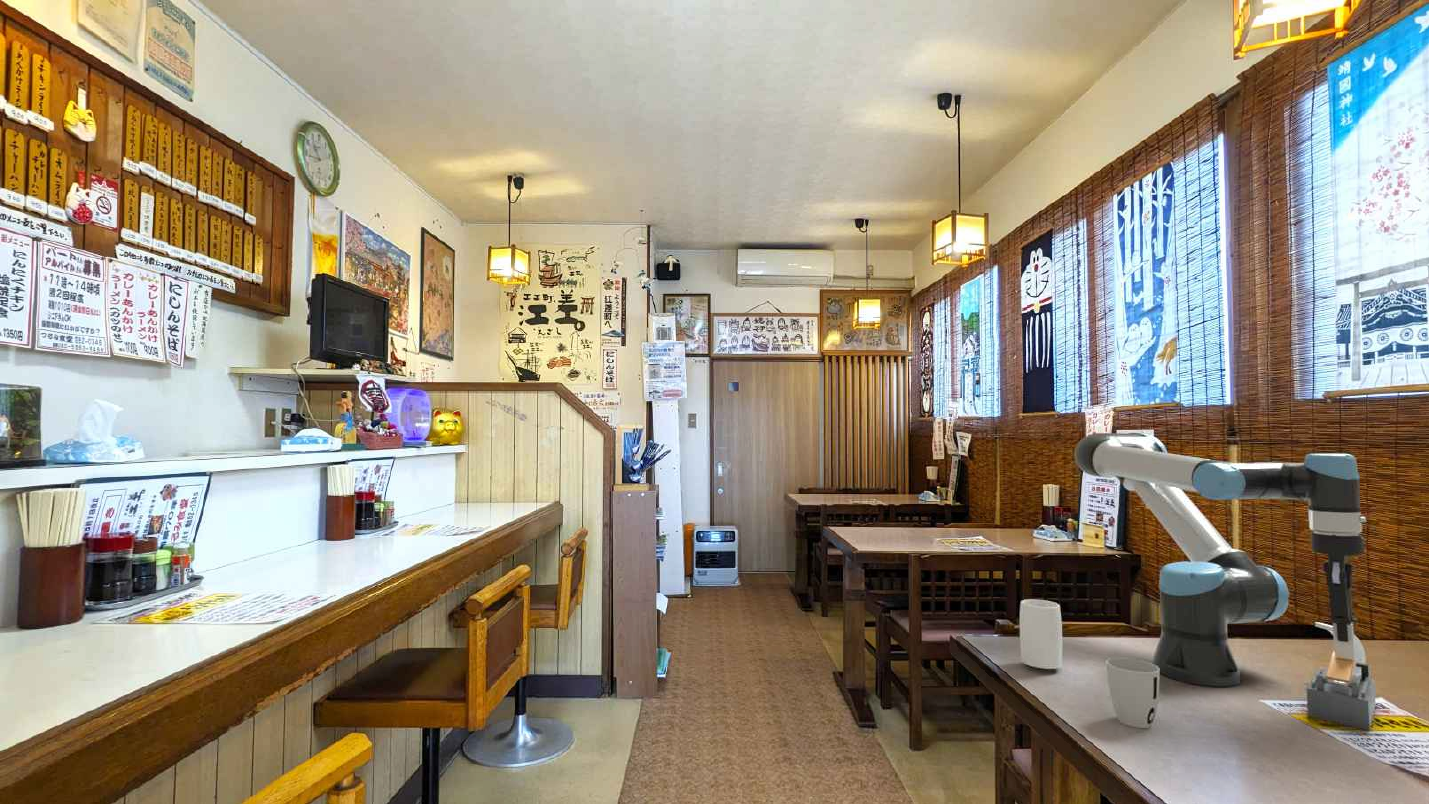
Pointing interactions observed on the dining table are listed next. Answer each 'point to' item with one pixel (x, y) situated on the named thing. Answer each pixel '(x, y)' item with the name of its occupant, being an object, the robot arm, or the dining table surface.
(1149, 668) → the cup
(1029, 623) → the cup
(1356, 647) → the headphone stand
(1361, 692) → the block
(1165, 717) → the dining table surface
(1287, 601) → the robot arm
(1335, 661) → the tan flat bar
